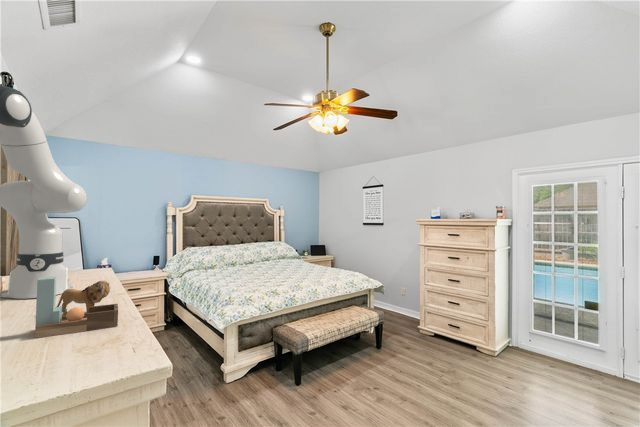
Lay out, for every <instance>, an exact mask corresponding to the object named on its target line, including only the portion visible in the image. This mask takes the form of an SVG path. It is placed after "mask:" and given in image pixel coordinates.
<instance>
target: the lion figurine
mask: <svg viewBox="0 0 640 427" xmlns="http://www.w3.org/2000/svg"><path fill="white" fill-rule="evenodd" d="M110 291H111V286H110V282H108V281H107V280H99V281H97V282H95V283H93V284H91V285H88V286H87V287H85V288H84V289H81V290H78V289H75V288H74V289H67V290H65V291H64V292H63V293H62V294H60V297H59V300H58V303H57V305H56V307H60V305H61V306H62V315H63V316H66V314H67V312H68V309H67V307H68V305H69V304H70V303H72V302H74V303H75V304H81V305H82V304H85V308H86V309H85V310H86V313H89V307H92V306H96V304H97V303H100V302H101V301H102V300H103V299H105V298H106V297H107V296H108V295H109V294H110Z"/></svg>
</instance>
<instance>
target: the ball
mask: <svg viewBox="0 0 640 427" xmlns="http://www.w3.org/2000/svg"><path fill="white" fill-rule="evenodd" d="M84 313H85V311H84V309H83V308H81V307H72V308H71V309H69V310H67V314H66V315H65V316H66V319H67V320H68V321H69V322H70V321H78V320H81V319H82V318H83V317H84Z"/></svg>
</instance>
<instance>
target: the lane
mask: <svg viewBox="0 0 640 427" xmlns="http://www.w3.org/2000/svg"><path fill="white" fill-rule="evenodd" d="M34 332H35V334H34V339H39V338H44V337H45V338H47V337H53V336H58V335H59V336H60V335H66V334H74V333H79V332H88V331H87V312H84V317H83V318H82V319H81V320H78V321H70V322H69V321H68V320H67V319H66V315H62V319H61V323H55V324H47V325H40V326H36V328H35V331H34Z"/></svg>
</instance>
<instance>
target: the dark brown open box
mask: <svg viewBox="0 0 640 427" xmlns="http://www.w3.org/2000/svg"><path fill="white" fill-rule="evenodd" d="M118 305H119V304H118V303H112V304H102V305H94V306H92V307H89V313H87V312H86V313H87V331H86V332H89V331H94V330H102V329H109V328H114V327H116V328H117V327H118V325H119V324H118V323H119V320H118V319H119V306H118Z"/></svg>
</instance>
